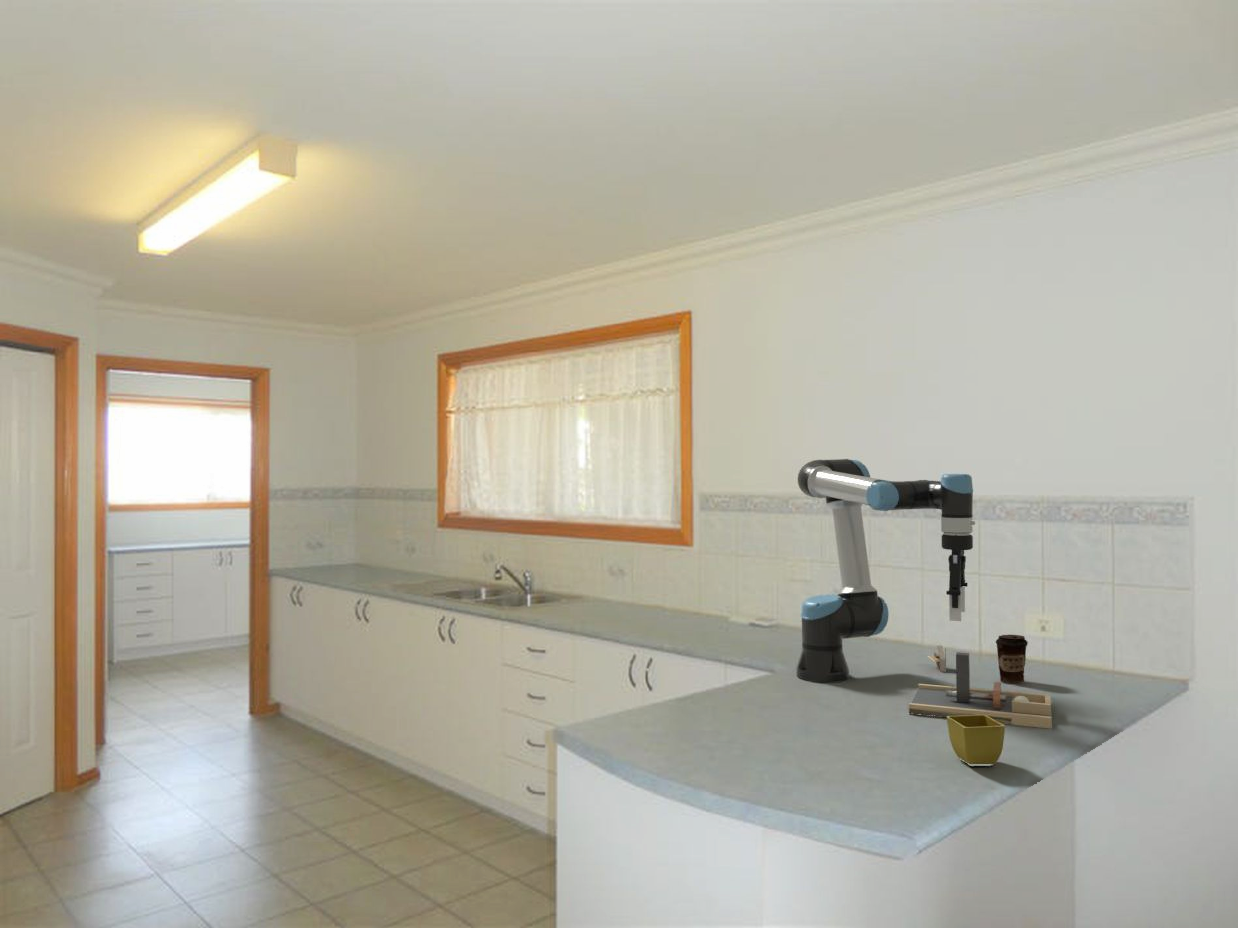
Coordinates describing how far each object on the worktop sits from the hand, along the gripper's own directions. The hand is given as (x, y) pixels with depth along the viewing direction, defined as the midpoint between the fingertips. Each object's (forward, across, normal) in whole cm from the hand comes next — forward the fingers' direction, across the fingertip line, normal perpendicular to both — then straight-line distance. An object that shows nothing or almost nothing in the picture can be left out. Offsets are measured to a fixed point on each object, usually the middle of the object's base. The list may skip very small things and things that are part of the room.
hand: (957, 616), depth 226 cm
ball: (+21, -2, -15) cm, 26 cm away
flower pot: (+23, -45, -7) cm, 51 cm away
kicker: (+21, -2, -5) cm, 22 cm away
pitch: (+23, -2, -6) cm, 24 cm away
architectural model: (+24, +40, +8) cm, 47 cm away
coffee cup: (+24, +31, -12) cm, 41 cm away
